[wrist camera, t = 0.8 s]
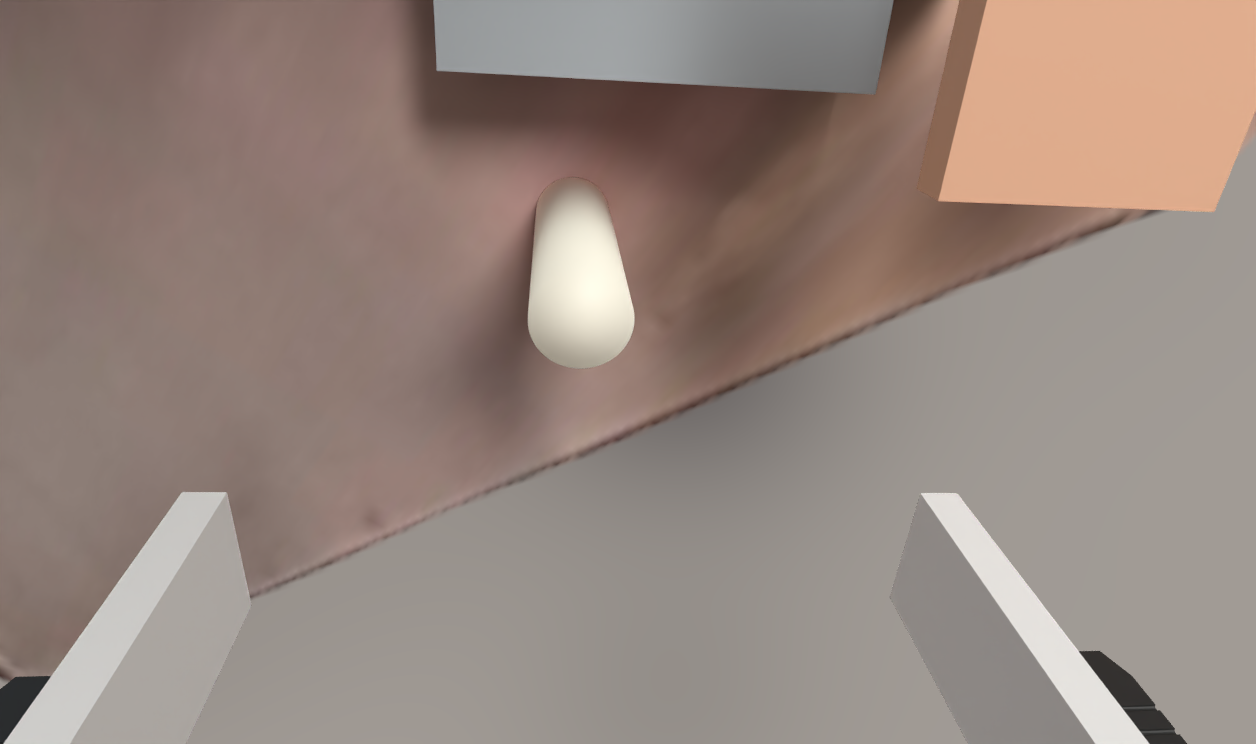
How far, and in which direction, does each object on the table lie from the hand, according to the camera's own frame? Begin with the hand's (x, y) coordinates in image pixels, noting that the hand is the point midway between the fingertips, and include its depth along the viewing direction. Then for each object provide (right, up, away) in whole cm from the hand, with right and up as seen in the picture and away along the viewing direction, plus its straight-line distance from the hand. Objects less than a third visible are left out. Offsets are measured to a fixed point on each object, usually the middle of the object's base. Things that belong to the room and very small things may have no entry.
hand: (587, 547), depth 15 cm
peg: (-2, +10, +19) cm, 21 cm away
